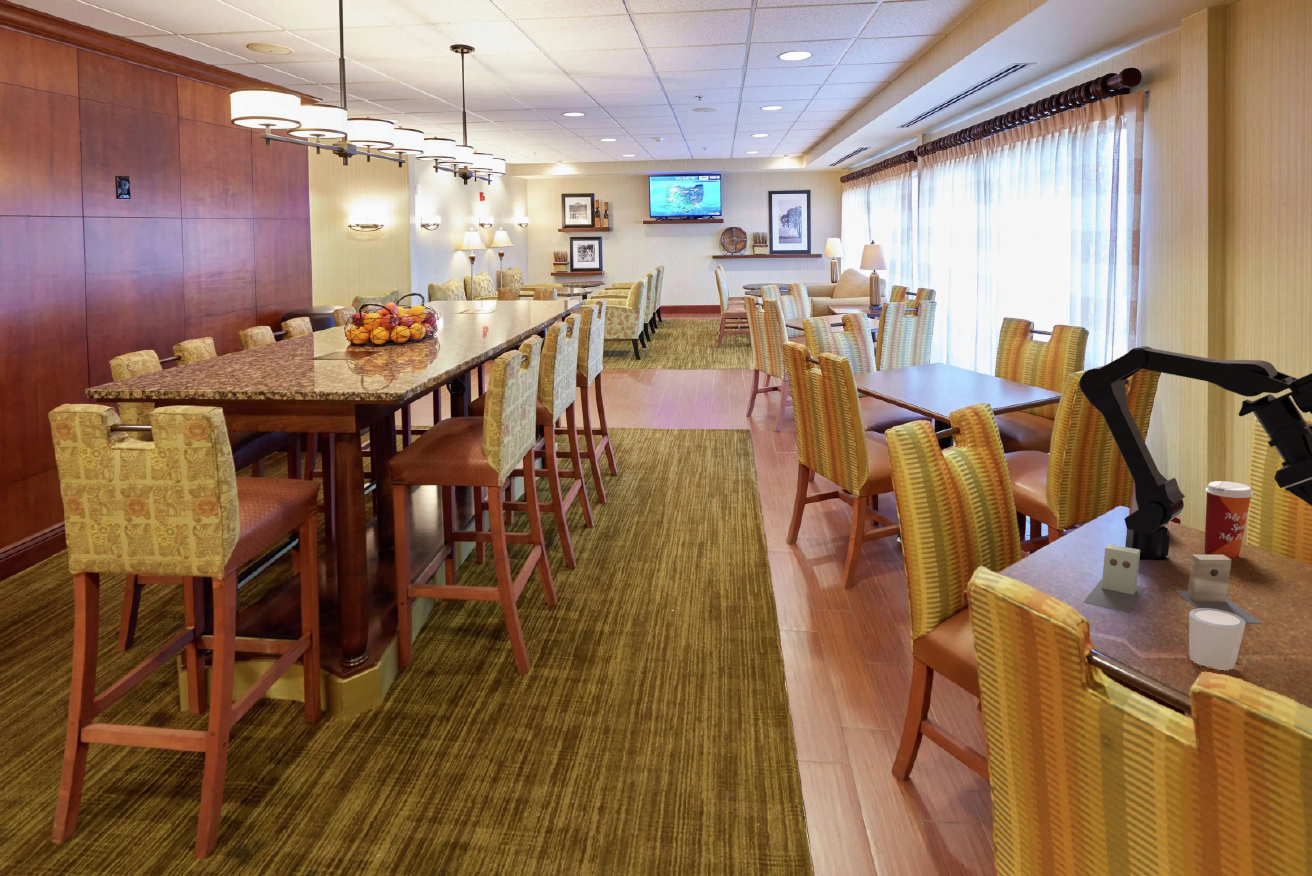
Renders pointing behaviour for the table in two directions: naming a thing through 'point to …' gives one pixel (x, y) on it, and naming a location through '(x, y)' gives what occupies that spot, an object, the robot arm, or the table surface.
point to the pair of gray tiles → (1128, 600)
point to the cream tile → (1209, 578)
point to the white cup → (1215, 637)
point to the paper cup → (1226, 517)
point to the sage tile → (1120, 569)
